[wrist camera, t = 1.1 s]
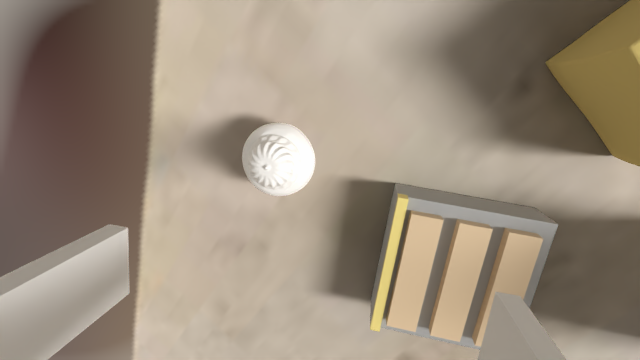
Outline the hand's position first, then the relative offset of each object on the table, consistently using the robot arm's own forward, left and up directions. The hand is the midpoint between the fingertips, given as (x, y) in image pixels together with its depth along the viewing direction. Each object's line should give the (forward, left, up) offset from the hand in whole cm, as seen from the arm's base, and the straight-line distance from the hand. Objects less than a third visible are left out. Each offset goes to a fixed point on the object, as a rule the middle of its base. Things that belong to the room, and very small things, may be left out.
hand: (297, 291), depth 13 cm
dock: (+6, +11, -20) cm, 24 cm away
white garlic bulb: (-1, -5, -21) cm, 21 cm away
